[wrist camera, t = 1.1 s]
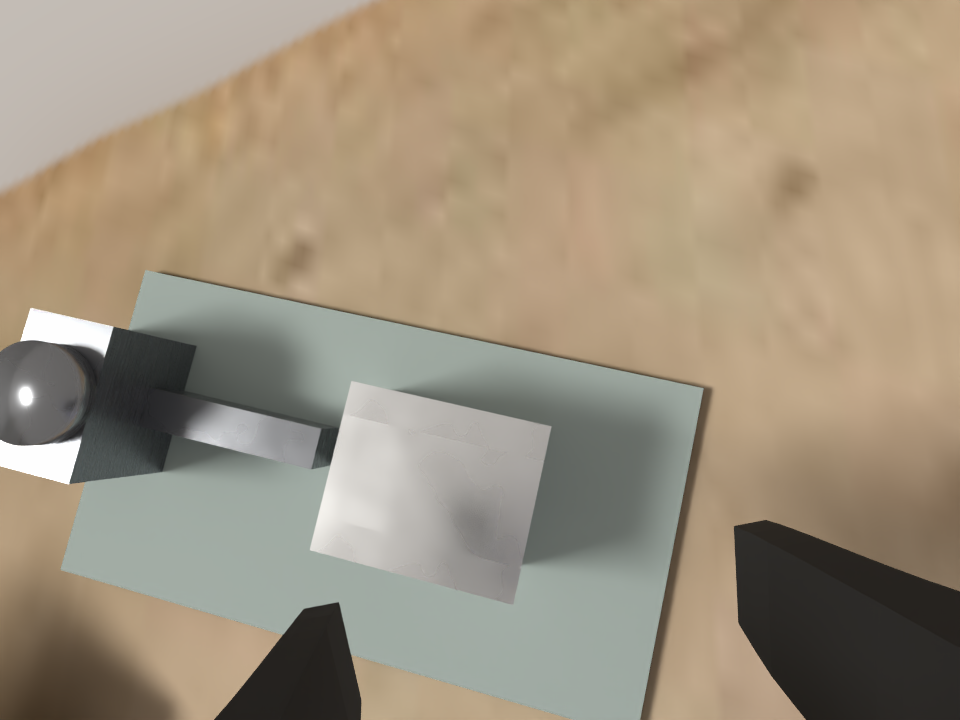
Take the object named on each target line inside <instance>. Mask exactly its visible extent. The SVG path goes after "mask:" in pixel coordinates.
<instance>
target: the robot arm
mask: <svg viewBox="0 0 960 720" xmlns="http://www.w3.org/2000/svg"><path fill="white" fill-rule="evenodd" d="M734 537H735V558H736V580H737V601H738V622H739V625H740V626H741V628H742V630H743V631H744V633H745V635H746V636H747V638H748V640H749V641H750V643H751V645H752V646H753V648H754V650H755V651H756V653H757V654H758V656H759V657H760V659H761V661H762V662H763V664H764V665H765V667H766V668H767V670H768V671H769V673H770V674H771V676H772V677H773V679H774V680H775V681H776V682H777V684H778V685H779V686H780V688H781V689H782V690H783V691H784V693H785V694H786V695H787V696H788V698H789V699H790V700H791V701H792V703H793V704H794V705H795V706H796V708H797V709H798V710H799V711H800V713H801V714H802V715H803V716H804V718H805V719H806V720H960V591H957V590H954V589H951V588H948V587H945V586H942V585H939V584H936V583H933V582H930V581H928V580H925V579H922V578H919V577H917V576H914V575H911V574H908V573H906V572H903V571H900V570H898V569H895V568H892V567H890V566H887V565H884V564H882V563H879V562H877V561H874V560H871V559H869V558H866V557H864V556H861V555H858V554H856V553H853V552H851V551H848V550H846V549H843V548H841V547H838V546H836V545H833V544H830V543H828V542H825V541H823V540H820V539H818V538H815V537H813V536H810V535H807V534H805V533H802V532H799V531H797V530H794V529H791V528H789V527H786V526H783V525H780V524H777V523H774V522H770V521H767V520H764V521H759V522H753V523H748V524H743V525H738V526H734ZM214 720H361V697H360V692H359V688H358V683H357V679H356V675H355V670H354V666H353V661H352V657H351V653H350V648H349V644H348V639H347V635H346V630H345V626H344V622H343V617H342V613H341V608H340V604H339V602H336V603H331V604H326V605H320V606H315V607H310V608H305V609H303V610H302V612H301V613H300V614H299V615H298V616H297V618H296V619H295V620H294V621H293V623H292V624H291V625H290V627H289V628H288V629H287V630H286V632H285V633H284V634H283V636H282V637H281V638H280V639H279V641H278V642H277V643H276V645H275V646H274V647H273V648H272V650H271V651H270V652H269V654H268V655H267V656H266V657H265V659H264V660H263V661H262V663H261V664H260V665H259V666H258V668H257V669H256V670H255V671H254V673H253V674H252V675H251V676H250V678H249V679H248V680H247V681H246V683H245V684H244V685H243V686H242V687H241V689H240V690H239V691H238V692H237V694H236V695H235V696H234V697H233V699H232V700H231V701H230V702H229V703H228V704H227V706H226V707H225V708H224V709H223V710H222V711H221V712H220V714H219V715H218V716H217V717H216V718H215V719H214Z"/></svg>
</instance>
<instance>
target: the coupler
mask: <svg viewBox="0 0 960 720" xmlns="http://www.w3.org/2000/svg"><path fill="white" fill-rule="evenodd" d="M196 347H197V346H195V345H191V344H186V343H182V342H178V341H173V340H169V339H165V338H160V337H156V336H151V335H147V334H143V333H138V332H134V331H130V330H125V329H121V328H117V327H112V326H108V325H103V324H99V323H95V322H90V321H86V320H81V319H77V318H73V317H68V316H64V315H59V314H55V313H51V312H46V311H42V310H37V309H33V308H31V309H30V312H29V315H28V319H27V322H26V325H25V329H24V332H23V335H22V339H21V341H20V342H17V343H14V344H12V345H10V346H8V347H6V348H5V349H3V350H2V351H1V352H0V466H4V467H7V468H11V469H15V470H19V471H22V472H26V473H30V474H33V475H37V476H41V477H45V478H48V479H52V480H56V481H59V482H63V483H67V484H72V483H80V482H88V481H96V480H104V479H112V478H120V477H128V476H136V475H144V474H152V473H160V472H163V468H164V464H165V461H166V457H167V453H168V450H169V446H170V442H171V439H172V435H176V436H180V437H184V438H188V439H192V440H196V441H200V442H204V443H208V444H211V445H215V446H219V447H223V448H227V449H231V450H235V451H239V452H243V453H247V454H251V455H255V456H259V457H263V458H267V459H271V460H275V461H279V462H283V463H287V464H291V465H295V466H299V467H303V468H307V469H316V468H321V467H326V466H330V465H331V461H332V457H333V453H334V449H335V445H336V441H337V437H338V433H339V429H340V428H338V427H334V426H330V425H326V424H321V423H317V422H313V421H309V420H305V419H300V418H296V417H292V416H288V415H284V414H280V413H275V412H271V411H267V410H263V409H259V408H254V407H250V406H246V405H242V404H238V403H234V402H229V401H225V400H221V399H217V398H213V397H208V396H204V395H200V394H196V393H192V392H188V391H185V387H186V384H187V380H188V376H189V373H190V369H191V365H192V362H193V358H194V354H195V351H196Z"/></svg>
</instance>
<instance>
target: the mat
mask: <svg viewBox="0 0 960 720" xmlns="http://www.w3.org/2000/svg"><path fill="white" fill-rule="evenodd" d="M129 330H130V331H134V332H138V333H143V334H147V335H151V336H156V337H160V338H165V339H169V340H173V341H178V342H182V343H186V344H191V345H195V346H197V347H196V351H195V354H194V358H193V362H192V365H191V369H190V373H189V376H188V380H187V384H186V387H185V391H188V392H192V393H196V394H200V395H204V396H208V397H213V398H217V399H221V400H225V401H229V402H234V403H238V404H242V405H246V406H250V407H254V408H259V409H263V410H267V411H271V412H275V413H280V414H284V415H288V416H292V417H296V418H300V419H305V420H309V421H313V422H317V423H321V424H326V425H330V426H334V427H338V428H340V425H341V421H342V417H343V413H344V409H345V405H346V401H347V397H348V393H349V389H350V384H351V381H354V382H358V383H363V384H367V385H372V386H376V387H380V388H385V389H389V390H394V391H398V392H402V393H407V394H411V395H416V396H420V397H424V398H429V399H433V400H438V401H442V402H446V403H451V404H455V405H460V406H464V407H468V408H473V409H477V410H482V411H486V412H490V413H495V414H499V415H504V416H508V417H512V418H517V419H521V420H526V421H530V422H534V423H539V424H543V425H548V426H551V431H550V436H549V440H548V445H547V450H546V454H545V459H544V464H543V468H542V473H541V478H540V482H539V487H538V492H537V496H536V501H535V506H534V510H533V515H532V520H531V524H530V529H529V534H528V538H527V543H526V548H525V552H524V557H523V562H522V566H521V571H520V576H519V580H518V585H517V590H516V594H515V599H514V604H513V605H511V604H507V603H503V602H500V601H496V600H492V599H489V598H485V597H481V596H477V595H474V594H470V593H466V592H463V591H459V590H455V589H452V588H448V587H444V586H440V585H437V584H433V583H429V582H426V581H422V580H418V579H415V578H411V577H407V576H403V575H400V574H396V573H392V572H389V571H385V570H381V569H378V568H374V567H370V566H366V565H363V564H359V563H355V562H352V561H348V560H344V559H341V558H337V557H333V556H329V555H326V554H322V553H318V552H315V551H311V550H310V546H311V542H312V538H313V534H314V530H315V526H316V522H317V518H318V514H319V510H320V506H321V502H322V498H323V494H324V490H325V486H326V482H327V478H328V474H329V470H330V466H326V467H321V468H316V469H307V468H303V467H299V466H295V465H291V464H287V463H283V462H279V461H275V460H271V459H267V458H263V457H259V456H255V455H251V454H247V453H243V452H239V451H235V450H231V449H227V448H223V447H219V446H215V445H211V444H208V443H204V442H200V441H196V440H192V439H188V438H184V437H180V436H176V435H172V439H171V442H170V446H169V450H168V453H167V457H166V461H165V464H164V468H163V472H160V473H152V474H144V475H136V476H128V477H120V478H112V479H104V480H96V481H88V482H85V485H84V489H83V492H82V496H81V499H80V503H79V506H78V510H77V513H76V517H75V520H74V524H73V527H72V531H71V534H70V538H69V541H68V545H67V548H66V552H65V556H64V559H63V563H62V566H61V570H63V571H66V572H70V573H73V574H76V575H80V576H83V577H87V578H90V579H94V580H97V581H100V582H104V583H107V584H111V585H114V586H118V587H121V588H124V589H128V590H131V591H135V592H138V593H141V594H145V595H148V596H152V597H155V598H159V599H162V600H165V601H169V602H172V603H176V604H179V605H183V606H186V607H189V608H193V609H196V610H200V611H203V612H206V613H210V614H213V615H217V616H220V617H224V618H227V619H230V620H234V621H237V622H241V623H244V624H248V625H251V626H254V627H258V628H261V629H265V630H268V631H272V632H275V633H278V634H282V635H283V634H284V633H285V632H286V630H287V629H288V628H289V627H290V625H291V624H292V623H293V621H294V620H295V619H296V618H297V616H298V615H299V614H300V613H301V612H302V610H303V609H305V608H310V607H315V606H320V605H326V604H331V603H336V602H339V604H340V608H341V613H342V617H343V622H344V626H345V630H346V635H347V639H348V644H349V648H350V653H351V655H354V656H357V657H360V658H364V659H367V660H371V661H374V662H378V663H381V664H384V665H388V666H391V667H395V668H398V669H402V670H405V671H408V672H412V673H415V674H419V675H422V676H426V677H429V678H432V679H436V680H439V681H443V682H446V683H449V684H453V685H456V686H460V687H463V688H467V689H470V690H473V691H477V692H480V693H484V694H487V695H491V696H494V697H497V698H501V699H504V700H508V701H511V702H514V703H518V704H521V705H525V706H528V707H532V708H535V709H538V710H542V711H545V712H549V713H552V714H556V715H559V716H562V717H566V718H569V719H573V720H640V718H641V712H642V707H643V702H644V697H645V691H646V686H647V681H648V676H649V671H650V665H651V660H652V655H653V650H654V645H655V639H656V634H657V629H658V624H659V618H660V613H661V608H662V603H663V598H664V592H665V587H666V582H667V577H668V571H669V566H670V561H671V556H672V551H673V545H674V540H675V535H676V530H677V525H678V519H679V514H680V509H681V504H682V498H683V493H684V488H685V483H686V478H687V472H688V467H689V462H690V457H691V451H692V446H693V441H694V436H695V431H696V425H697V420H698V415H699V410H700V405H701V399H702V394H703V389H704V388H700V387H695V386H691V385H686V384H681V383H677V382H672V381H667V380H662V379H658V378H653V377H648V376H643V375H639V374H634V373H629V372H625V371H620V370H615V369H610V368H606V367H601V366H596V365H591V364H587V363H582V362H577V361H573V360H568V359H563V358H558V357H554V356H549V355H544V354H539V353H535V352H530V351H525V350H521V349H516V348H511V347H506V346H502V345H497V344H492V343H487V342H483V341H478V340H473V339H469V338H464V337H459V336H454V335H450V334H445V333H440V332H435V331H431V330H426V329H421V328H416V327H412V326H407V325H402V324H398V323H393V322H388V321H383V320H379V319H374V318H369V317H364V316H360V315H355V314H350V313H346V312H341V311H336V310H331V309H327V308H322V307H317V306H312V305H308V304H303V303H298V302H294V301H289V300H284V299H279V298H275V297H270V296H265V295H260V294H256V293H251V292H246V291H242V290H237V289H232V288H227V287H223V286H218V285H213V284H208V283H204V282H199V281H194V280H190V279H185V278H180V277H175V276H171V275H166V274H161V273H156V272H152V271H147V270H145V274H144V277H143V281H142V284H141V288H140V291H139V295H138V298H137V302H136V306H135V309H134V313H133V316H132V320H131V323H130V327H129Z"/></svg>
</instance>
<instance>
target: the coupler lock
mask: <svg viewBox="0 0 960 720" xmlns="http://www.w3.org/2000/svg"><path fill="white" fill-rule="evenodd" d="M550 431H551V426H548V425H543V424H539V423H534V422H530V421H526V420H521V419H517V418H512V417H508V416H504V415H499V414H495V413H490V412H486V411H482V410H477V409H473V408H468V407H464V406H460V405H455V404H451V403H446V402H442V401H438V400H433V399H429V398H424V397H420V396H416V395H411V394H407V393H402V392H398V391H394V390H389V389H385V388H380V387H376V386H372V385H367V384H363V383H358V382H354V381H351V384H350V389H349V393H348V397H347V401H346V405H345V409H344V413H343V417H342V421H341V425H340V429H339V433H338V437H337V441H336V445H335V449H334V453H333V457H332V461H331V465H330V470H329V474H328V478H327V482H326V486H325V490H324V494H323V498H322V502H321V506H320V510H319V514H318V518H317V522H316V526H315V530H314V534H313V538H312V542H311V546H310V550H311V551H315V552H318V553H322V554H326V555H329V556H333V557H337V558H341V559H344V560H348V561H352V562H355V563H359V564H363V565H366V566H370V567H374V568H378V569H381V570H385V571H389V572H392V573H396V574H400V575H403V576H407V577H411V578H415V579H418V580H422V581H426V582H429V583H433V584H437V585H440V586H444V587H448V588H452V589H455V590H459V591H463V592H466V593H470V594H474V595H477V596H481V597H485V598H489V599H492V600H496V601H500V602H503V603H507V604H511V605H513V604H514V599H515V594H516V590H517V585H518V580H519V576H520V571H521V566H522V562H523V557H524V552H525V548H526V543H527V538H528V534H529V529H530V524H531V520H532V515H533V510H534V506H535V501H536V496H537V492H538V487H539V482H540V478H541V473H542V468H543V464H544V459H545V454H546V450H547V445H548V440H549V436H550Z"/></svg>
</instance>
